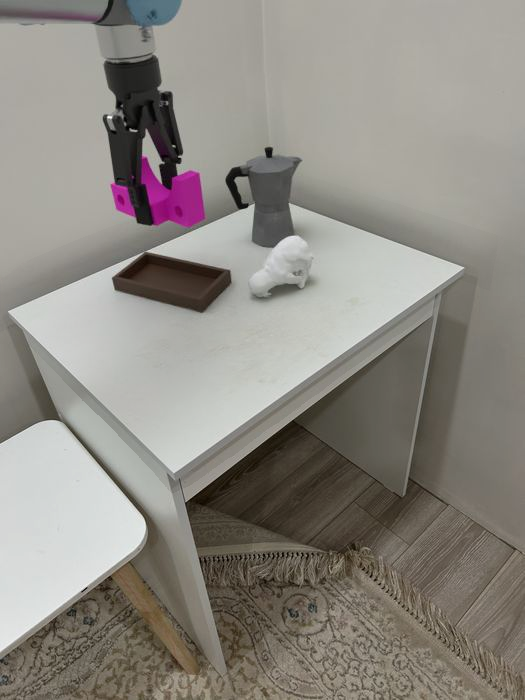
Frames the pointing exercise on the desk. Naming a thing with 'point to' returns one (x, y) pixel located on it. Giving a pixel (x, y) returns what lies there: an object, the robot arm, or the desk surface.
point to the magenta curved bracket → (166, 198)
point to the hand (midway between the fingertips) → (159, 212)
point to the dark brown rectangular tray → (173, 281)
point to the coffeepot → (267, 195)
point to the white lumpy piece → (283, 266)
